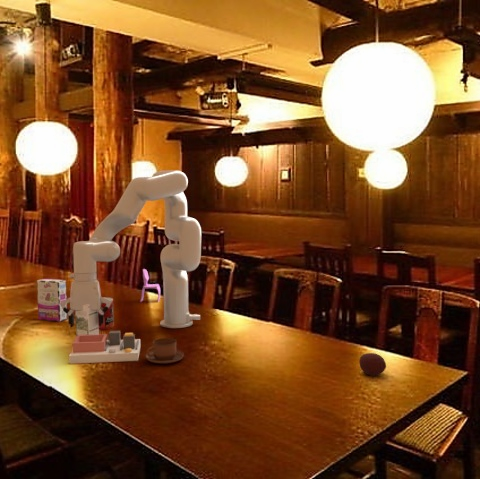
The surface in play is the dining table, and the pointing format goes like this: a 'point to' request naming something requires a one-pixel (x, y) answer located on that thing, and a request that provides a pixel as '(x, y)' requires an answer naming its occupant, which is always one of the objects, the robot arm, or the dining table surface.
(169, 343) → the cup and saucer
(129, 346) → the tagged breaker
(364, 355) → the potato
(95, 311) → the syrup box
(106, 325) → the canned food
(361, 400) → the dining table surface
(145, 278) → the toy chair
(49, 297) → the candy bar box
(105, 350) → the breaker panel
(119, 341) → the block
